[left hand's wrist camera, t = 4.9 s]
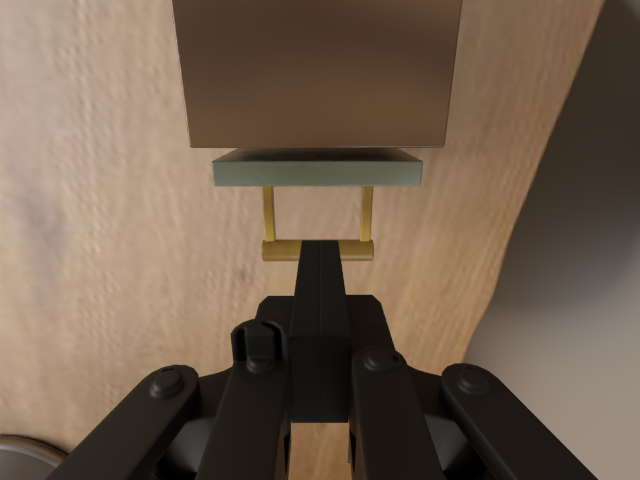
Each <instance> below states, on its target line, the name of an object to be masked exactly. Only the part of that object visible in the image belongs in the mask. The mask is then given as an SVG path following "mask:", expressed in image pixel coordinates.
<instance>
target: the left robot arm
mask: <svg viewBox="0 0 640 480" xmlns="http://www.w3.org/2000/svg"><path fill="white" fill-rule="evenodd" d="M231 343H232V352H233V361H234V363H233V366H232V367H230V368H229V369H227V370H225V371H222V372H219V373H216V374H211V375H207V376H203V377H198V373H197V372H196V371H195V370H194V368H191V367H189V366H186V365H171V366H167V367H163V368H161V369H158V370H156V371H154V372H152V373H151V374H149V375H148V376H147V377H145V378H144V379H143V380H142V381H141V382H140V383H139V384H138V385H137V386H136V387H135V388H134V389H133V390H132V391H131V392H130V393H129V394H128V395H127V396H126V397H125V398H124V399H123V400H122V401H121V402H120V403H119V404H118V405H117V406H116V407H115V408H114V409H113V410H112V411H111V412H110V413H109V414H108V415H107V416H106V417H105V418H104V419H103V421H102V422H101V423H100V424H99V425H98V426H97V427H96V428H95V429H94V430H93V431H92V432H91V433H90V434H89V435H88V436H87V437H86V438H85V439H84V440H83V441H82V442H81V443H80V444H79V445H78V446H77V447H76V448H75V449H74V450H73V451H72V452H71V453H70V454H69V455H68V456H67V455H66V454H64V453H62V452H61V451H59V450H57V449H55V448H53V447H51V446H48V445H46V444H43V443H41V442H38V441H34V440H31V439H27V438H22V437H15V436H0V480H288V474H289V462H290V450H291V418H292V423H348V418H349V449H348V463H351V474H352V480H598V479H597V478H596V477H595V476H594V475H593V474H592V473H591V472H590V471H589V470H588V469H587V468H586V467H585V466H584V465H583V464H582V463H581V462H580V461H579V460H578V459H577V458H576V457H575V456H574V455H573V454H572V453H571V452H570V451H569V450H568V449H567V448H566V447H565V446H564V445H563V444H562V443H561V442H560V441H559V440H558V439H557V438H556V437H555V436H554V435H553V433H552V432H551V431H549V429H548V428H547V427H546V426H545V425H544V424H543V423H542V422H541V421H540V420H539V419H538V418H537V417H536V416H535V415H534V414H533V413H532V412H531V411H530V410H529V409H528V408H527V407H526V406H525V405H524V404H523V403H522V402H521V401H520V400H519V399H518V398H517V397H516V396H515V395H514V394H513V393H512V392H511V391H510V390H509V389H508V388H507V387H506V386H505V385H504V384H503V383H502V382H501V381H500V380H499V379H498V378H497V377H496V376H494V375H493V374H492V373H490V372H489V371H487V370H485V369H483V368H481V367H479V366H476V365H471V364H466V363H458V364H453V365H450V366H447V367H446V368H445V370H444V371H443V372H442V376H439V375H435V374H430V373H426V372H423V371H419V370H416V369H414V368H412V367H410V366H409V365H407V362H406V361H405V359H404V357H403V356H402V355H401V354H400V353H399V352H397V351H396V350H395V347H394V344H393V341H392V338H391V334H390V331H389V328H388V325H387V322H386V318H385V315H384V312H383V309H382V306H381V303H380V302H379V301H378V300H377V299H376V298H375V297H374V296H373V295H346V293H345V286H344V279H343V272H342V264H341V257H340V250H339V242H338V240H302V242H301V250H300V257H299V264H298V272H297V279H296V286H295V293H294V296H267V297H266V298H265V299H264V300H263V301H262V302H261V303H260V304H259V307H258V310H257V315H256V317H255V319H252V320H249V321H246V322H243V323H241V324H240V325H238V326H237V327H235V328H234V330H233V331H232V333H231Z"/></svg>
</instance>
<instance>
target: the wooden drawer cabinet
mask: <svg viewBox="0 0 640 480" xmlns="http://www.w3.org/2000/svg"><path fill="white" fill-rule="evenodd" d="M171 6H172V14H173V21H174V29H175V37H176V45H177V52H178V60H179V68H180V75H181V83H182V91H183V99H184V106H185V114H186V122H187V130H188V137H189V145H190V147H191V148H443V147H444V145H445V137H446V129H447V121H448V112H449V104H450V96H451V88H452V80H453V72H454V64H455V56H456V47H457V39H458V31H459V23H460V15H461V7H462V0H171Z"/></svg>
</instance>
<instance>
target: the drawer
mask: <svg viewBox="0 0 640 480" xmlns="http://www.w3.org/2000/svg"><path fill="white" fill-rule="evenodd" d="M422 166H423V161H421V160H419V159H417V158H415V157H413V156H411V155H409V154H407V153H405V152H404V151H402V150H400V149H398V148H238V149H236V150H234V151H232V152H230V153H228V154H226V155H224V156H222V157H220V158H218V159H216V160H214V161H212V172H213V181H214V186H262V196H263V213H264V229H265V240H263V242H262V259H263V261H299V257H300V250H301V242H302V240H275V239H276V233H275V213H274V192H273V186H362V198H361V221H360V239H354V240H338V242H339V250H340V257H341V261H372V260H373V257H374V244H373V240H371V239H370V237H371V218H372V200H373V186H420V185H421V176H422Z"/></svg>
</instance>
